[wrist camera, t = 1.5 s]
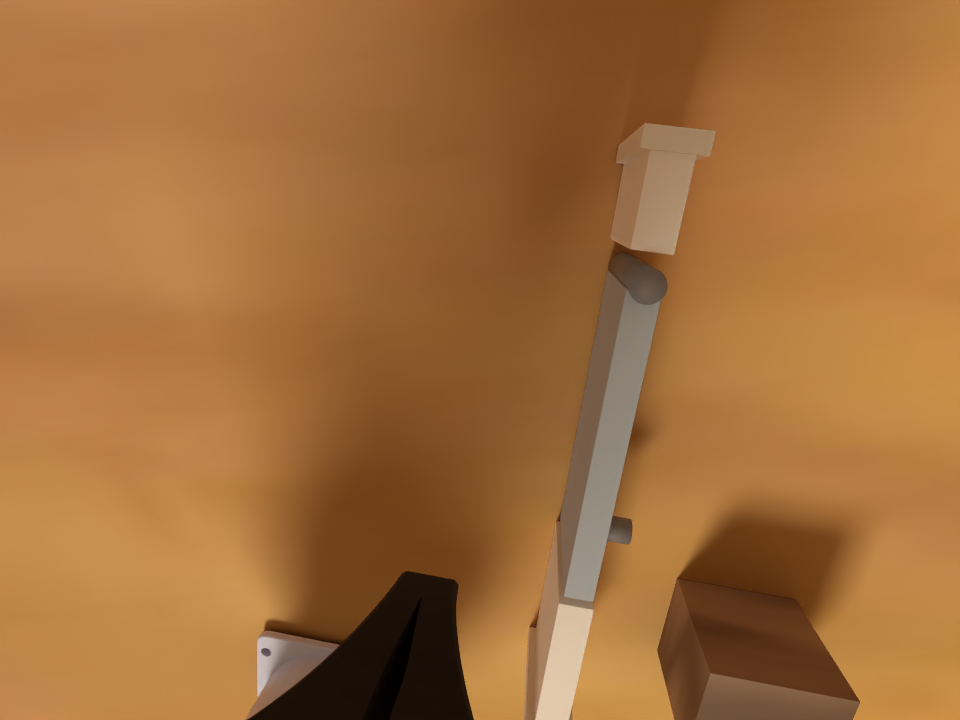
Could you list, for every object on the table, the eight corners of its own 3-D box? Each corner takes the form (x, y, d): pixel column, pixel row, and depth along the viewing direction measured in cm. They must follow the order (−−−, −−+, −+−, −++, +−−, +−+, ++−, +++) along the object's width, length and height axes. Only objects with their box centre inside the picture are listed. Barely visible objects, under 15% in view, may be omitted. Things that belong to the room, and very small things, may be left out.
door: (612, 526, 22) (630, 617, 17) (560, 517, 23) (564, 604, 18) (672, 258, 19) (716, 277, 14) (611, 251, 19) (634, 266, 14)
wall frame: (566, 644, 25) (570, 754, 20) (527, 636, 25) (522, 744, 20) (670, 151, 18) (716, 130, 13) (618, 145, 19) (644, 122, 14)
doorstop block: (768, 670, 24) (824, 786, 19) (656, 649, 24) (683, 757, 20) (794, 598, 23) (860, 702, 18) (676, 577, 23) (710, 673, 18)
